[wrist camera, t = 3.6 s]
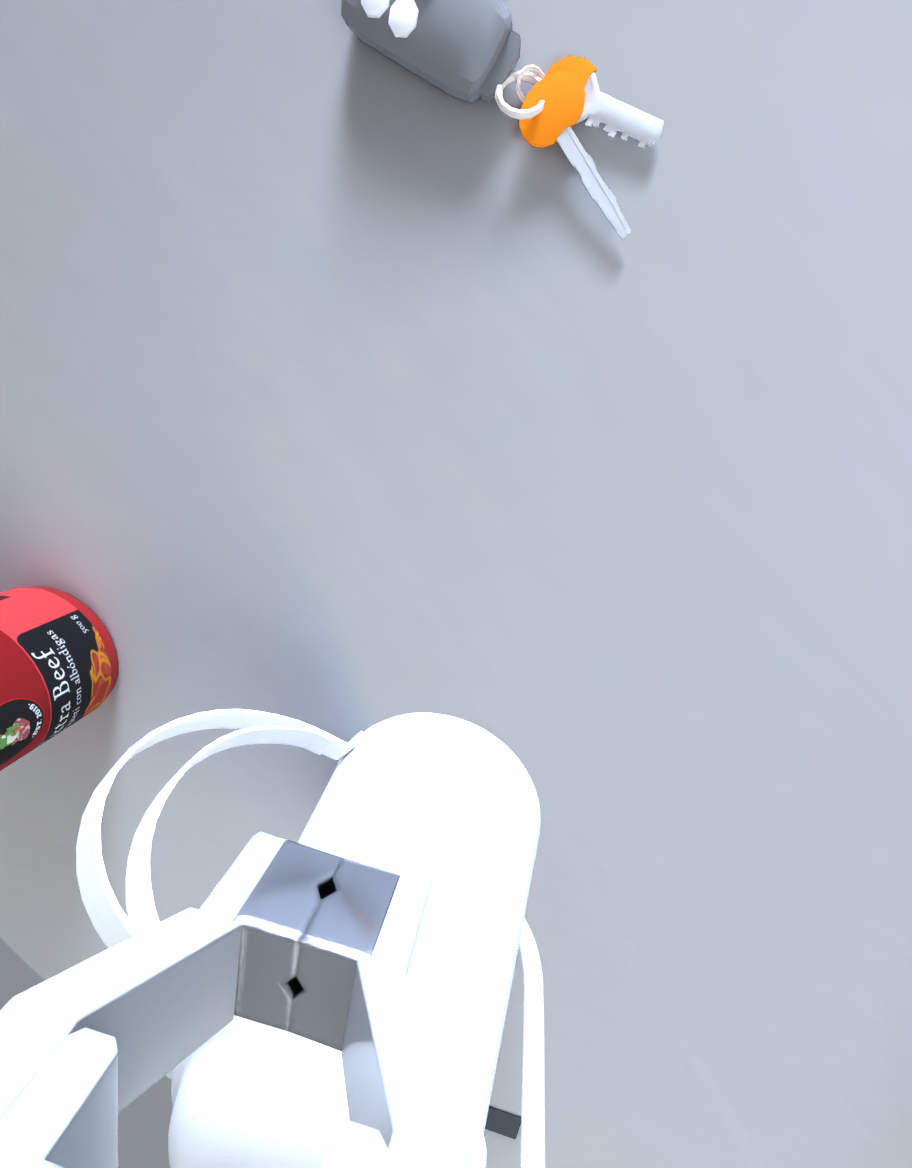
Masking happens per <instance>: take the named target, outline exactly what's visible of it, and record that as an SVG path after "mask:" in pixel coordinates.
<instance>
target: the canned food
mask: <svg viewBox="0 0 912 1168" xmlns="http://www.w3.org/2000/svg"><path fill="white" fill-rule="evenodd" d="M117 676H118V659H117V652H116V649H115V646H114V643H113V641H112V638H111V637H110V635H109V633H108V631H107V629H106V627H105V626H104V625H103V623H102V622H101V621H100V619H99V618H98V617H97V616H96V615H95V614H94V613H93V612H92V611H91V610H90V609H89V608H88V607H87V606H86V605H85V604H83V603H82V602H81V601H79V600H78V599H77V598H75V597H73V596H71V595H69V594H67V593H65V592H63V591H60V590H57V589H54V588H48V587H20V588H14V589H10V590H7V591H4V592H1V593H0V771H1V770H2V769H4V768H5V767H7V766H9V765H10V764H12V763H13V762H15V761H16V760H18V759H19V758H21V757H22V756H24V755H26V754H27V753H29V752H30V751H32V750H33V749H35V748H36V747H38V746H39V745H41V744H43V743H44V742H46V741H47V740H49V739H50V738H52V737H53V736H55V735H56V734H58V733H60V732H61V731H63V730H64V729H66V728H67V727H69V726H70V725H72V724H73V723H75V722H77V721H78V720H80V719H81V718H83V717H84V716H86V715H87V714H89V713H90V712H92V711H94V710H95V709H96V708H97V707H98V706H99V705H100V704H101V703H103V701H104V700H105V699H106V698H107V696H108V695H109V694H110V692H111V691H112V689H113V687H114V685H115V683H116V680H117Z"/></svg>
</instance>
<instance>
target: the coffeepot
mask: <svg viewBox="0 0 912 1168" xmlns="http://www.w3.org/2000/svg"><path fill="white" fill-rule="evenodd" d="M217 728H231V729H241V730H237V731H234V732H232V733H230V734H227V735H225V736H223V737H220V738H218V739H217V740H215V741H214V742H212V743H210V744H209V745H207V746H206V747H204V748H203V749H202V750H200V751H199V752H198V753H197V754H196V755H195V756H194V757H193V758H191V759H190V760H189V761H188V762H187V763H186V764H185V765H184V766H183V767H182V768H181V769H180V770H179V771H178V772H177V773H176V774H175V775H174V776H173V777H172V778H171V780H170V781H169V782H168V783H167V784H166V785H165V787H164V788H163V789H162V790H161V791H160V792H159V794H158V795H157V796H156V798H155V799H154V801H153V802H152V804H151V805H150V807H149V808H148V810H147V811H146V813H145V814H144V816H143V818H142V820H141V822H140V825H139V827H138V829H137V831H136V833H135V835H134V838H133V842H132V845H131V849H130V852H129V856H128V862H127V871H126V880H125V885H126V907H127V914H128V917H127V916H126V914H125V913H124V911H123V910H122V908H121V907H120V905H119V903H118V901H117V899H116V897H115V895H114V892H113V890H112V888H111V886H110V884H109V881H108V879H107V875H106V870H105V866H104V862H103V858H102V854H101V831H100V826H101V820H102V815H103V809H104V803H105V799H106V796H107V794H108V792H109V790H110V787H111V785H112V783H113V781H114V778H115V776H116V774H117V772H118V771H119V770H120V769H121V767H122V766H123V765H124V764H125V763H126V762H128V761H129V760H130V759H131V758H133V757H134V756H135V755H136V754H138V753H139V752H141V751H143V750H145V749H147V748H148V747H150V746H152V745H154V744H156V743H158V742H160V741H162V740H165V739H168V738H171V737H174V736H177V735H180V734H183V733H187V732H193V731H198V730H204V729H217ZM265 743H266V744H288V745H294V746H299V747H302V748H304V749H306V750H308V751H311V752H313V753H315V754H317V755H320V754H323V755H325V756H327V757H330V758H332V759H335V760H339V759H340V761H339V763H338V765H337V767H336V769H335V770H334V772H333V774H332V776H331V778H330V780H329V782H328V784H327V786H326V788H325V790H324V792H323V794H322V796H321V798H320V800H319V802H318V804H317V806H316V808H315V810H314V812H313V814H312V816H311V818H310V820H309V822H308V824H307V825H306V827H305V829H304V831H303V833H302V835H301V837H300V839H299V841H298V843H299V844H303V845H306V846H309V847H312V848H315V849H318V850H321V851H324V852H327V853H330V854H333V855H336V856H339V857H342V858H348V859H351V860H355V861H358V862H362V863H365V864H369V865H372V866H376V867H379V868H383V869H387V870H390V871H394V872H397V873H401V875H402V874H404V875H407V876H411V877H414V878H418V879H421V880H425V881H428V882H431V890H430V894H429V899H428V903H427V908H426V912H425V917H424V921H423V926H422V930H421V935H420V939H419V943H418V948H417V952H416V956H415V960H414V965H413V969H412V973H411V977H412V978H414V979H415V980H416V983H417V986H418V990H419V993H420V996H421V1000H422V1003H423V1006H424V1009H425V1013H426V1016H427V1019H428V1023H429V1026H430V1029H431V1032H432V1036H433V1039H434V1042H435V1046H436V1049H437V1052H438V1055H439V1059H440V1062H441V1065H442V1069H443V1072H444V1075H445V1078H446V1082H447V1085H448V1088H449V1092H450V1095H451V1098H452V1101H453V1105H454V1108H455V1111H456V1115H457V1118H458V1121H459V1124H460V1128H461V1131H462V1134H463V1137H464V1141H465V1144H466V1147H467V1151H468V1154H469V1157H470V1165H469V1168H486V1161H487V1153H486V1143H485V1137H484V1130H485V1125H486V1120H487V1114H488V1109H489V1103H490V1098H491V1093H492V1087H493V1082H494V1077H495V1071H496V1066H497V1061H498V1055H499V1050H500V1044H501V1039H502V1034H503V1028H504V1023H505V1018H506V1012H507V1007H508V1002H509V996H510V991H511V985H512V980H513V975H514V969H515V964H516V959H517V953H518V948H519V951H520V954H521V959H522V966H523V975H524V1028H523V1071H522V1114H521V1156H520V1168H545V1087H544V999H543V977H542V968H541V962H540V957H539V952H538V949H537V945H536V942H535V939H534V937H533V934H532V931H531V929H530V927H529V925H528V923H527V921H526V920H525V918H524V916H525V910H526V905H527V900H528V894H529V889H530V884H531V878H532V873H533V868H534V862H535V857H536V851H537V846H538V841H539V835H540V825H541V816H540V806H539V800H538V796H537V793H536V789H535V787H534V784H533V782H532V780H531V778H530V776H529V774H528V772H527V771H526V769H525V767H524V766H523V764H522V763H521V761H520V760H519V759H518V757H517V756H516V755H515V754H514V753H513V752H512V751H511V750H510V749H509V748H508V747H507V746H506V745H505V744H504V743H503V742H502V741H500V740H499V739H498V738H497V737H495V736H494V735H492V734H491V733H489V732H488V731H486V730H484V729H483V728H481V727H479V726H477V725H475V724H473V723H470V722H468V721H465V720H463V719H460V718H456V717H453V716H448V715H443V714H437V713H410V714H404V715H399V716H395V717H392V718H389V719H386V720H384V721H381V722H379V723H377V724H375V725H373V726H372V727H370V728H368V729H367V730H365V731H364V732H362V731H360V732H359V733H358V734H357V735H355V736H354V737H353V738H352V739H351V740H350V741H349V742H348V743H347V742H345V741H343V740H341V739H339V738H337V737H335V736H333V735H331V734H329V733H327V732H325V731H323V730H321V729H319V728H317V727H314V726H312V725H310V724H307V723H305V722H302V721H299V720H296V719H293V718H290V717H286V716H282V715H278V714H273V713H268V712H262V711H256V710H246V709H219V710H212V711H206V712H199V713H195V714H192V715H189V716H185V717H182V718H178V719H175V720H173V721H171V722H169V723H167V724H165V725H163V726H161V727H159V728H157V729H155V730H153V731H151V732H150V733H148V734H147V735H146V736H145V737H143V738H142V739H141V740H139V741H138V742H137V743H136V744H134V745H133V746H132V747H130V748H129V749H128V750H127V751H126V752H125V754H124V755H123V756H122V757H121V758H120V759H119V760H118V761H117V763H116V764H115V765H114V766H113V767H112V768H111V770H110V771H109V772H108V773H107V775H106V776H105V777H104V779H103V780H102V781H101V782H100V784H99V785H98V786H97V787H96V789H95V790H94V792H93V794H92V796H91V799H90V801H89V803H88V805H87V807H86V809H85V811H84V814H83V816H82V819H81V824H80V829H79V834H78V839H77V843H76V874H77V879H78V884H79V888H80V893H81V897H82V901H83V904H84V906H85V908H86V911H87V913H88V915H89V917H90V920H91V922H92V924H93V926H94V928H95V929H96V931H97V933H98V934H99V936H100V937H101V939H102V940H103V942H104V943H105V945H106V946H107V948H110V947H112V946H114V945H116V944H118V943H120V942H122V941H124V940H126V939H128V938H130V937H132V936H134V935H136V934H138V933H140V932H142V931H144V930H146V929H148V928H150V927H152V926H154V925H156V924H158V923H160V921H159V918H158V915H157V911H156V908H155V904H154V899H153V893H152V887H151V874H150V856H151V844H152V838H153V834H154V830H155V826H156V822H157V819H158V817H159V814H160V812H161V810H162V808H163V805H164V803H165V801H166V799H167V798H168V796H169V794H170V793H171V791H172V790H173V788H174V787H175V785H176V783H177V782H178V780H179V779H180V778H181V777H182V776H183V774H184V773H185V772H186V771H187V770H189V769H190V768H191V767H192V766H194V765H195V764H197V763H199V762H200V761H202V760H203V759H205V758H206V757H208V756H210V755H213V754H215V753H217V752H219V751H221V750H225V749H228V748H232V747H236V746H242V745H249V744H265ZM341 1055H342V1052H341V1051H339V1050H336V1049H333V1048H331V1047H328V1046H325V1045H323V1044H320V1043H317V1042H315V1041H312V1040H309V1039H307V1038H304V1037H301V1036H299V1035H296V1034H293V1033H291V1032H288V1031H285V1030H281V1029H278V1028H275V1027H271V1026H268V1025H265V1024H261V1023H258V1022H255V1021H251V1020H248V1019H245V1018H241V1017H238V1016H235V1015H234V1019H233V1020H232V1021H231V1022H230V1023H229V1024H228V1025H226V1026H225V1027H224V1028H223V1029H221V1030H220V1031H219V1032H218V1033H216V1034H215V1035H214V1036H213V1037H211V1038H210V1039H209V1040H208V1041H207V1042H205V1043H204V1044H203V1045H202V1046H200V1047H199V1048H198V1049H197V1050H195V1051H194V1052H193V1053H192V1054H190V1055H189V1056H188V1057H187V1058H186V1059H184V1060H183V1061H182V1062H181V1063H179V1064H178V1065H177V1066H176V1067H174V1071H173V1075H172V1084H171V1094H172V1104H173V1111H172V1115H171V1121H170V1127H169V1133H168V1154H169V1155H168V1156H169V1163H170V1168H319V1166H320V1163H321V1160H322V1157H323V1154H324V1151H325V1148H326V1145H327V1142H328V1139H329V1136H330V1133H331V1130H332V1128H333V1127H335V1126H336V1125H338V1124H339V1123H341V1122H342V1121H344V1120H345V1119H347V1120H350V1119H349V1111H348V1104H347V1096H346V1088H345V1080H344V1072H343V1064H342V1056H341Z"/></svg>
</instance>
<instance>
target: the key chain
mask: <svg viewBox="0 0 912 1168" xmlns="http://www.w3.org/2000/svg"><path fill="white" fill-rule="evenodd" d="M341 15H342V17H343V19H344V21H345V22H346V24H347V25H348V27H349V28H350V29H351V30H352V31H353V32H354V33H355V34H356V35H357V37H358V38H359V39H360V40H361V41H363V42H364V43H366V44H368V45H369V46H371V47H373V48H374V49H376V50H377V51H379V52H381V53H382V54H384V55H385V56H387V57H389V58H390V59H392V60H394V61H395V62H397V63H398V64H400V65H402V66H403V67H405V68H407V69H408V70H410V71H412V72H413V73H415V74H416V75H418V76H420V77H421V78H423V79H425V80H426V81H428V82H430V83H431V84H433V85H435V86H436V87H438V88H440V89H441V90H443V91H445V92H446V93H448V94H450V95H451V96H453V97H456V98H459V99H461V100H464V101H467V102H470V103H472V102H473V101H475V100H477V99H478V98H480V97H481V98H482V99H484V100H485V101H486V102H488V103H489V102H490V101H491V100H493V99H494V98H495V100H496V102H497V104H498V106H499V108H500V110H501V111H502V112H504V113H505V114H506V115H507V116H509V117H512V118H515V119H519V127H520V130H521V133H522V136H523V139H525V140H526V141H527V142H528V143H529V144H530V145H531V146H535V147H540V148H544V147H547V146H549V145H552V144H554V143H555V142H556V141H557V142H558V144H559V145H560V147H561V149H562V150H563V152H564V153H565V155H566V157H567V158H568V160H569V162H570V163H571V165H572V166H573V167H574V166H575V168H576V170H577V171H578V173H579V175H580V176H581V181H582V183H583V184H584V186H585V187H586V189H587V191H588V192H589V194H590V196H591V197H592V199H593V201H596V202H597V204H598V205H599V207H600V209H601V210H602V212H603V213H604V215H605V216H606V218H607V219H608V221H609V222H610V223H611V225H612V226H613V227H614V229H615V230H616V232H617V233H618V234H619V236H620V237H621V239H622V240H623V239H624V238H625V237H626V236H627V235H629V234H630V233H631V230H630V228H629V226H628V224H627V222H626V220H625V218H624V216H623V215H622V213H621V211H620V209H619V207H618V205H617V202H618V201H617V200H616V198H615V196H614V195H613V193H612V191H611V190H610V188H607V186H606V185H605V183H604V181H603V180H602V178H601V176H600V175H599V173H598V171H597V170H596V168H595V167H596V165H595V163H594V161H593V160H592V158H591V157H590V155H589V153H588V154H587V153H586V152H585V150H584V148H583V147H582V145H581V143H580V142H579V140H578V138H577V137H576V135H575V133H574V132H573V130H572V126H573V125H575V124H577V123H579V122H581V121H583V120H585V119H587V118H588V119H587V121H586V123H585V126H587V127H590V128H591V126H592V125H593V126H595V127H597V128H598V126H599V124H600V123H602V124H604V125H605V127H604V131H606V132H608V133H609V134H608V136H609V137H611V138H613V139H614V137H615V134H616V132H617V131H619V132H621V133H623V134H622V136H621V139H623V140H625V141H627V139H628V136H630V137H632V138H634V139H636V140H638V141H640V142H639V144H638V147H640V148H642V149H644V147H645V145H646V144H647V145H649V146H651V147H652V146H653V145H654V144H655V142H656V141H657V140H658V139H659V138H660V137H661V134H662V128H663V122H664V121H662V120H660V119H658V118H656V117H654V116H652V115H649V114H647V113H645V112H643V111H641V110H639V109H637V108H634V107H632V106H630V105H628V104H626V103H624V102H621V101H619V100H617V99H615V98H613V97H611V96H609V95H606V94H604V93H602V92H600V91H599V86H598V82H597V79H596V75H595V72H596V71H597V69H596V68H595V67H594V66H593V65H592V64H591V63H590V62H589V61H588V60H587V59H586V58H583V57H574V56H568V57H566V58H564V59H562V60H560V61H558V62H556V63H554V64H553V65H552V67H551V68H550V70H549V71H548V73H547V74H546V75H545V77H544V74H543V72H542V71H541V69H540V68H539V67H537V66H535V65H527V66H525V67H524V68H523V69H522V70H521V71H513V69H514V67H515V65H516V63H517V61H518V59H519V58H520V44H521V41H520V35H518V34H517V33H516V32H514V31H513V30H512V19H511V13H510V12H509V11H508V10H507V8H506V7H505V6H504V5H503V3H502V2H501V1H500V0H342V9H341ZM531 70H532V71H535V72H537V74H538V75H539V77H540V78H539V77H538V76H537V75H535V74H534V73H531V72H527V71H531ZM512 71H513V72H512ZM514 81H516V91H517V95H518V97H519V98H520V100H521V101H522V102H523V105H522V108H521V110H520V109H516V108H512V107H511V106H509V105H508V104H507V103H506V102H505V101H504V99H503V97H502V96H503V89H504V87H505V86H506V85H508V84H509V83H511V82H514ZM521 81H525V82H529V83H531V84H533V85H534V87H533V88H532V89H531V91H530V92H529V93H528V94H527V96H526V97H524V96H523V94H522V93H521V89H520V82H521Z"/></svg>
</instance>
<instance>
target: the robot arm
mask: <svg viewBox="0 0 912 1168" xmlns="http://www.w3.org/2000/svg"><path fill="white" fill-rule="evenodd" d="M430 890H431V882H428V881H425V880H421V879H418V878H414V877H411V876H407V875H404V874H402V875H401V873H397V872H394V871H390V870H387V869H383V868H379V867H376V866H372V865H369V864H365V863H362V862H358V861H355V860H351V859H348V858H342V857H339V856H336V855H333V854H330V853H327V852H324V851H321V850H318V849H315V848H312V847H309V846H306V845H303V844H299V843H296V842H293V841H290V840H285V839H282V838H279V837H276V836H273V835H270V834H267V833H264V832H261V831H260V832H259V833H257V834H256V835H255V836H253V837H252V838H251V839H250V841H249V842H248V843H247V845H246V846H245V847H244V849H243V850H242V851H241V853H240V854H239V856H238V857H237V858H236V860H235V861H234V862H233V864H232V865H231V866H230V868H229V869H228V871H227V872H226V873H225V875H224V876H223V877H222V879H221V880H220V881H219V883H218V884H217V885H216V887H215V888H214V890H213V891H212V892H211V894H210V895H209V896H208V898H207V899H206V900H205V902H204V903H203V904H202V906H201V907H200V909H199V910H198V909H195V908H191V907H189V908H187V909H185V910H183V911H181V912H179V913H177V914H175V915H173V916H171V917H169V918H167V919H165V920H163V921H161V922H160V923H158V924H156V925H154V926H152V927H150V928H148V929H146V930H144V931H142V932H140V933H138V934H136V935H134V936H132V937H130V938H128V939H126V940H124V941H122V942H120V943H118V944H116V945H114V946H112V947H110V948H108V949H106V950H104V951H102V952H101V953H99V954H97V955H95V956H93V957H91V958H89V959H87V960H85V961H83V962H81V963H79V964H77V965H75V966H73V967H71V968H69V969H67V970H65V971H63V972H61V973H59V974H57V975H55V976H53V977H51V978H49V979H47V980H45V981H43V982H42V983H40V984H38V985H36V986H34V987H32V988H30V989H28V990H26V991H24V992H22V993H20V994H18V995H16V996H14V997H13V998H11V1000H10V1001H9V1002H8V1003H7V1004H6V1005H5V1006H4V1007H3V1008H2V1009H1V1010H0V1168H118V1113H119V1112H120V1111H121V1110H122V1109H124V1108H125V1107H126V1106H127V1105H129V1104H130V1103H131V1102H132V1101H134V1100H135V1099H136V1098H137V1097H138V1096H140V1095H141V1094H142V1093H143V1092H145V1091H146V1090H147V1089H148V1088H150V1087H151V1086H152V1085H153V1084H155V1083H156V1082H157V1081H158V1080H160V1079H161V1078H162V1077H163V1076H164V1075H166V1074H167V1073H168V1072H169V1071H171V1070H172V1069H173V1068H174V1067H176V1066H177V1065H178V1064H179V1063H181V1062H182V1061H183V1060H184V1059H186V1058H187V1057H188V1056H189V1055H190V1054H192V1053H193V1052H194V1051H195V1050H197V1049H198V1048H199V1047H200V1046H202V1045H203V1044H204V1043H205V1042H207V1041H208V1040H209V1039H210V1038H211V1037H213V1036H214V1035H215V1034H216V1033H218V1032H219V1031H220V1030H221V1029H223V1028H224V1027H225V1026H226V1025H228V1024H229V1023H230V1022H231V1021H232V1020H233V1019H234V1015H235V1016H238V1017H241V1018H245V1019H248V1020H251V1021H255V1022H258V1023H261V1024H265V1025H268V1026H271V1027H275V1028H278V1029H281V1030H285V1031H288V1032H291V1033H293V1034H296V1035H299V1036H301V1037H304V1038H307V1039H309V1040H312V1041H315V1042H317V1043H320V1044H323V1045H325V1046H328V1047H331V1048H333V1049H336V1050H339V1051H341V1052H342V1055H341V1056H342V1064H343V1072H344V1080H345V1088H346V1096H347V1104H348V1111H349V1119H350V1120H347V1119H345V1120H344V1121H342V1122H341V1123H339V1124H338V1125H336V1126H335V1127H333V1128H332V1130H331V1133H330V1136H329V1139H328V1142H327V1145H326V1148H325V1151H324V1154H323V1157H322V1160H321V1163H320V1166H319V1168H469V1165H470V1157H469V1154H468V1151H467V1147H466V1144H465V1141H464V1137H463V1134H462V1131H461V1128H460V1124H459V1121H458V1118H457V1115H456V1111H455V1108H454V1105H453V1101H452V1098H451V1095H450V1092H449V1088H448V1085H447V1082H446V1078H445V1075H444V1072H443V1069H442V1065H441V1062H440V1059H439V1055H438V1052H437V1049H436V1046H435V1042H434V1039H433V1036H432V1032H431V1029H430V1026H429V1023H428V1019H427V1016H426V1013H425V1009H424V1006H423V1003H422V1000H421V996H420V993H419V990H418V986H417V983H416V980H415V979H414V978H412V977H411V973H412V969H413V965H414V960H415V956H416V952H417V948H418V943H419V939H420V935H421V930H422V926H423V921H424V917H425V912H426V908H427V903H428V899H429V894H430Z"/></svg>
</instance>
